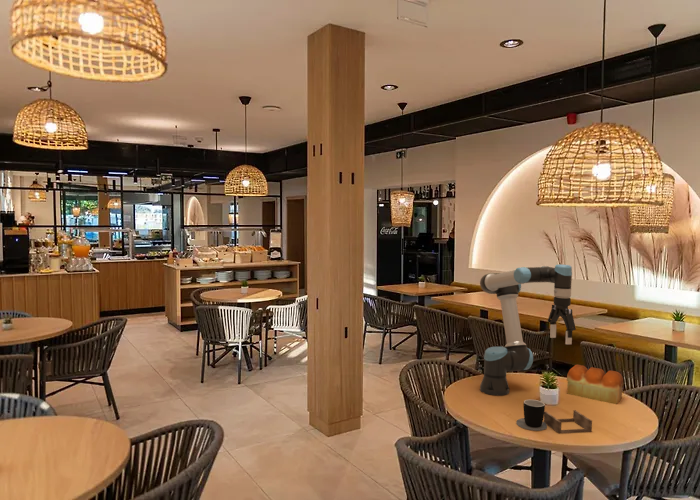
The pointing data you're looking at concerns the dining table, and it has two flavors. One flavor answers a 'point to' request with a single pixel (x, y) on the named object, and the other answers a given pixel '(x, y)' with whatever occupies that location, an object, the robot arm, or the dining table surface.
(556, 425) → the frame
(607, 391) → the bread
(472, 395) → the dining table surface
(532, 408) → the mug
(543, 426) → the coaster
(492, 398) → the dining table surface
